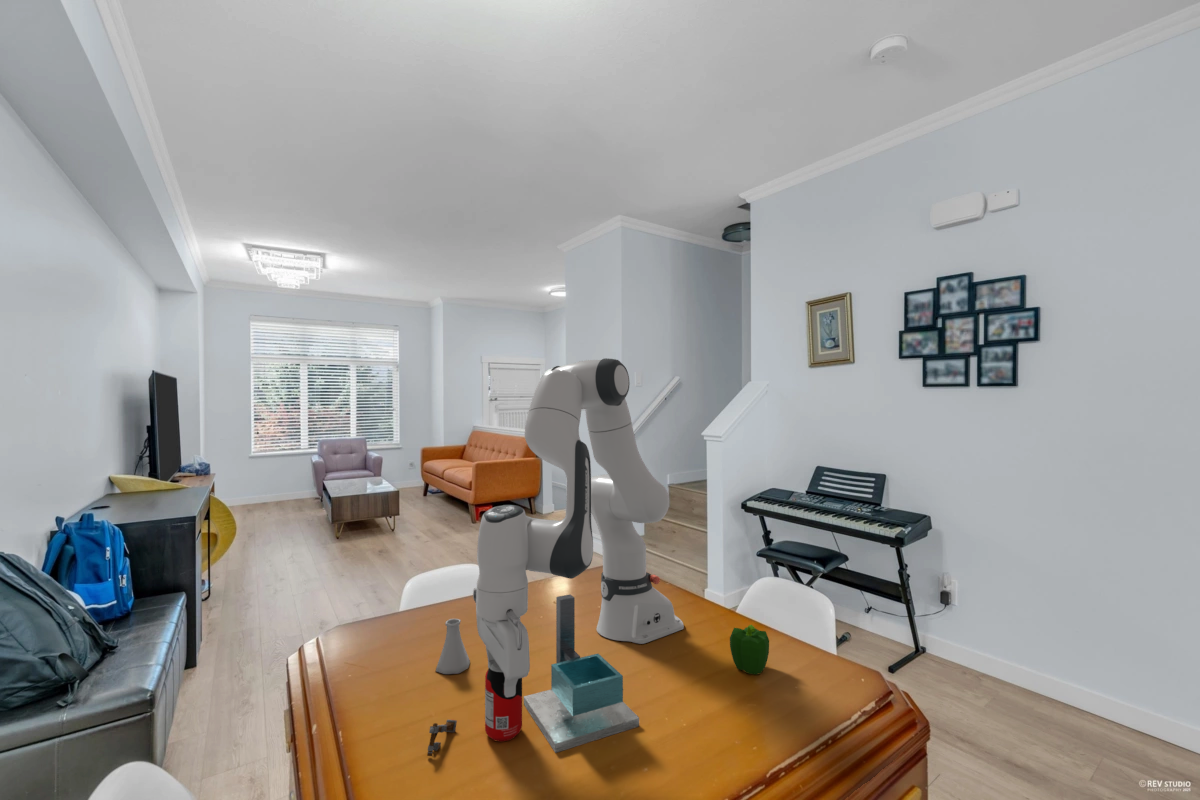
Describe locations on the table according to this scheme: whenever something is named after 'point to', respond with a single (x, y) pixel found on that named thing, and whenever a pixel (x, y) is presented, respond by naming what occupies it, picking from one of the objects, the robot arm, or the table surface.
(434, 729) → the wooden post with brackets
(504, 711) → the beverage can
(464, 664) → the flask
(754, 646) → the bell pepper
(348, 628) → the table surface
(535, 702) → the cup bracket stand
